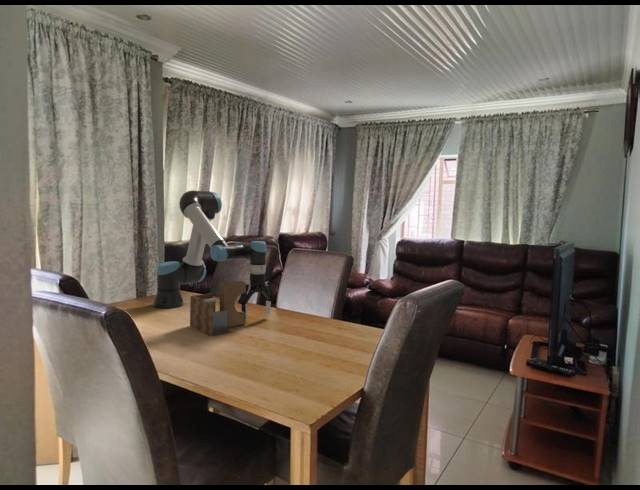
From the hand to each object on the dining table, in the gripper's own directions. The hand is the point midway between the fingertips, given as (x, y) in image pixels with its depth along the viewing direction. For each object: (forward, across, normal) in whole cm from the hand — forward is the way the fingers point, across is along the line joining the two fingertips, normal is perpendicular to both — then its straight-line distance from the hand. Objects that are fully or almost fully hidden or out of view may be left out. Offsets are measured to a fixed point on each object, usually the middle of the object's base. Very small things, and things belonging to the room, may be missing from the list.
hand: (256, 316), depth 202 cm
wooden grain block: (+2, -24, 0) cm, 24 cm away
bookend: (+2, -24, -7) cm, 25 cm away
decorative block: (+2, -13, 0) cm, 13 cm away
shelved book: (+2, -24, +6) cm, 25 cm away
